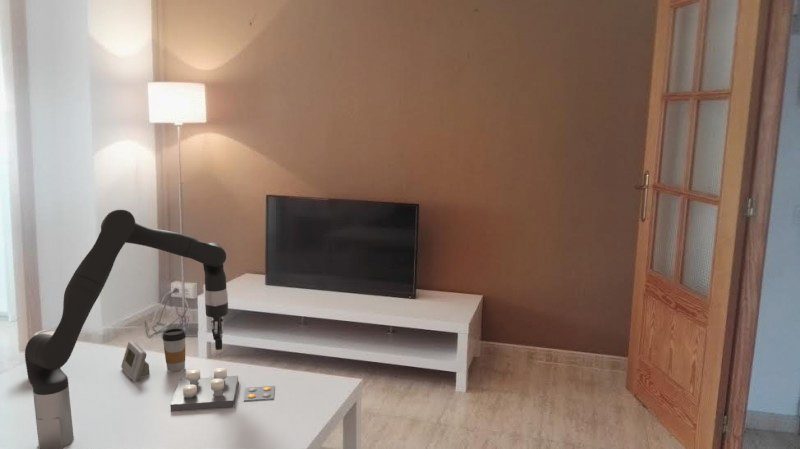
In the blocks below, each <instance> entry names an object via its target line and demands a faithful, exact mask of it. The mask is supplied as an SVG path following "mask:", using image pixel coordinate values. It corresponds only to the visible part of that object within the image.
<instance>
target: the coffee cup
mask: <svg viewBox="0 0 800 449" xmlns="http://www.w3.org/2000/svg"><path fill="white" fill-rule="evenodd" d="M186 337H187V336H186V332H185V330H184V329H183V328H179V327H177V328H176V327H175V328H169V329H166V330H164V331H163V334H162V341H163V350H164V358H165V359H164V360H165V364H166V370H167V372H169V373H172V374H173V373H181V372H182V371H184V370H185V368H186Z"/></svg>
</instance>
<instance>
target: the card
mask: <svg viewBox="0 0 800 449" xmlns="http://www.w3.org/2000/svg"><path fill="white" fill-rule="evenodd" d="M274 399H275V385H269V386H267V385H266V386H249V387H245V390H244V396H243V402H255V401H268V400H269V401H270V400H271V401H272V400H273V401H274Z"/></svg>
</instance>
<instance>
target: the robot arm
mask: <svg viewBox="0 0 800 449" xmlns="http://www.w3.org/2000/svg"><path fill="white" fill-rule="evenodd" d="M125 244H133V245H139V246H144V247H149V248H152V249H156V250H159V251H163V252H165V253H166V252H167V253H170V254H173V255H177V256H180V257H183V258H188V259H191V260H194V261H196V262H199V263H200V264H202V266H203V271H204V288H205V289H204V303H205V304H204V305H205V315H206V317H208V318H211V321H210V326H211V328H212V329H211V333H212V337H213V338H212V339H213V340H214V343H215V344H214V345H215V350H217V351H219V350H220V351H221V350H223V338H224V337H223V336H224V335H223V334H224V323H225V318H224V317H225V316H227V315H228V314H229V299H228V298H229V297H228V296H229V295H228V290H227V277H226V273H225V269H224V264H225V262H226V261H227V253H226V250H225V249H224V248H223V247H222V246H221V245H220V244H219V243H216V242H208V243H207V242H205V241H200V240H199V239H198V238H195V237H194V236H189V235H186V234H184V233H180V232H176V231H170V230H164V229H157V228H152V227H148V226H144V225H141V224H139V223H136V218H135V217H134V215H133V214H132V212H130V211H129V210H127V209H124V208H123V209H122V208H119V209H114V210H112V211H110V212H109V213H108V214H107V215H106V216H105V217H104V219H103V220H102V221H101V225H100V232H99V234H98V237H97V239H96V240H95V243H94V245H93V246H92V248H90V250H89V252H87V254H86V255H85V257H84V258H83V259H82V261H81V262H80V263H79V265H78V267H77V268H76V270H75V272H74V273H73V274H72V276H71V277H70V280H69V281H68V282H67V285H66V288H65V290H64V294H63V302H62V303H63V305H62V307H63V308H62V314H61V319H60V321H59V322H58V325H57V327H56V331H55V332H54V334H53V335H49V334H38V335H35V334H34V335H35V336H34V335H33V336H32V337H31V338H30V339H29V340H28V342H27V343H26V345H25V348H24V358H25V359H24V361H25V366H26V372H27V373H26V374H27V379H28V382H29V383H30V385H31V388H32V394H33V403H34V404H33V405H34V414H35V424H36V432H37V440H38V441H37V443H38V447H39V449H64V448H65V447H66V446H68V445H70V444H71V443H72V442H73V441H74V438H75V437H74V436H75V435H74V428H73V419H72V418H73V416H72V408H71V398H70V387H69V384H70V383H69V377H68V375H67V374H66V373H65V372H63V370H62V369H61V368H62V367H63V366H64V365H65V364H66V363H67V362H68V361H69V359H70V358H71V356H72V354H73V351H74V349H75V347H76V344H77V341H78V339H79V337H80V334H81V332H82V329H83V327H84V324H85V323H86V320H87V319H88V318H89V315H90V313H91V311H92V309H93V307H94V306H95V303H96V301H97V300H98V298H99V297H100V295H101V293H102V290H103V289H104V287H105V285H106V283H107V281H108V278H109V276H110V275H111V274H110V273H111V271H112V270H113V266H114V264H115V262H116V259H117V257H118V256H119V253H120V252H121V250H122V249H123V247H124V245H125Z"/></svg>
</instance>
